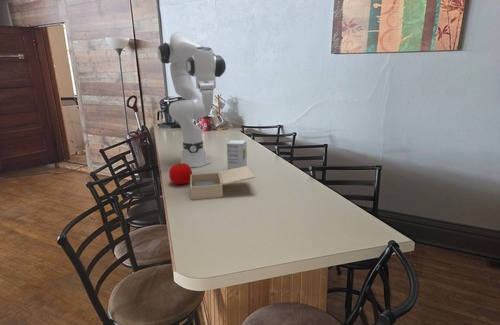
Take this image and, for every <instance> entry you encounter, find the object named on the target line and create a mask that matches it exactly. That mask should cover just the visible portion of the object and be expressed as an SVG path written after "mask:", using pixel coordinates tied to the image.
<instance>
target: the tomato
mask: <svg viewBox="0 0 500 325" xmlns="http://www.w3.org/2000/svg"><path fill="white" fill-rule="evenodd" d="M168 173H169V174H168V176H169V179H170V181H171V182H172V183H173V184H175V185H186V184H188V183H189V182H190V175H193V170H192V167H190V166H189V165H188V164H185V163H181V164H180V162H179V163H177V164H176V163H175V164H173V165H172V166H171V167H170V169H169V172H168Z"/></svg>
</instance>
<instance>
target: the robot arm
mask: <svg viewBox="0 0 500 325" xmlns="http://www.w3.org/2000/svg"><path fill="white" fill-rule="evenodd" d="M157 57H158V59H159V60H160V62H161V63H162V64H170V65H169V68H170V69H169V70H170V75H171V76H170V77H171V80H172V85H173V87H174V91H175V93H176V94H177V95H178V96H180V97H181V98H183V100H177V101H174V102H171V103H170V105H169V106H168V113H169V115H170V118H172V119H173V120H174V121H176V122H177V124H178V125H179V126H180V128H181V129H180V130H181V132H182V140H183V141H182V148H183V149H182V150H181V152H180V156H181V158H180V159H181V160H180V161H179V163H180V164H181V163H185V164H188V165H189V166H190V168H199V167H203V166H205V165H209V164H211V161H210V160H209V159H208V158H207V150H206V149H205V148H204V142H203V136H202V135H203V133H202V128H201V127H200V126H199V125H197V124H195V123H194V121H193V119H200V118H201V119H202V118H204V117H208V116H210V115H211V111H212V107H213V103H214V90H215V89H216V87H217V84H216V78H220V77H221V76H223V75H224V73H225V72H226V68H227V67H226V61H225V60H224V58H223V57H222V56H221V55H219V54H218V55H217V54H215V53H214V50H213V48H211V47H210V46H209V47H208V46H207V47H206V46H203V45H201V44H199V43H198V42H195V41H194V40H192V39H191V37H189V36H188V35H187V34H186V33H184V32H182V31H175V32H174V33H172V34H171V35H170V37H169V42H164V43H162V44H159V46H158V47H157ZM192 77H193V78H194V77H195V85H196V87H195V85H194V83H193V79H192ZM197 89H198V90H199V92H198V90H197ZM200 93H201V94H200Z"/></svg>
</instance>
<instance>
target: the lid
mask: <svg viewBox="0 0 500 325" xmlns="http://www.w3.org/2000/svg"><path fill="white" fill-rule="evenodd" d="M219 175H220V178H221V182H222V185H223V186H224V185H228V184H234V183H237V182H238V183H239V182H242V181H248V180H251V179H255V175H254V174H253V173H252V170H251V169H250V167H249V165H247V166H244V167H239V168H234V169H230V170H228V169H224V170H221V171H219Z"/></svg>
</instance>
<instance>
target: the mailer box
mask: <svg viewBox="0 0 500 325" xmlns="http://www.w3.org/2000/svg"><path fill="white" fill-rule="evenodd" d="M189 182H190V184H189V185H190V200H191V201H193V200H194V201H195V200H197V201H198V200H207V199H219V198H224V194H223V192H224V190H223V181H222V177H221V174H220V172H211V173H198V174H197V173H196V174H195V173H192V175H190V181H189Z"/></svg>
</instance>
